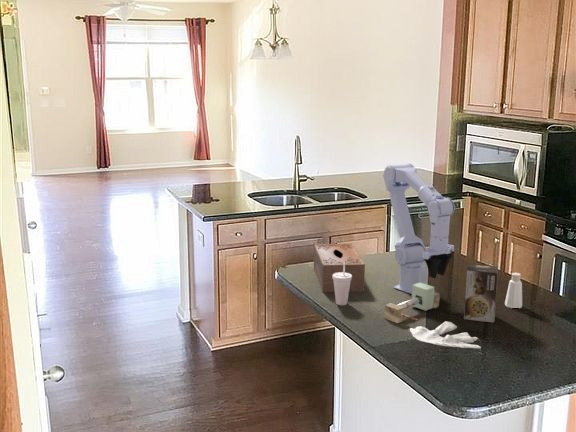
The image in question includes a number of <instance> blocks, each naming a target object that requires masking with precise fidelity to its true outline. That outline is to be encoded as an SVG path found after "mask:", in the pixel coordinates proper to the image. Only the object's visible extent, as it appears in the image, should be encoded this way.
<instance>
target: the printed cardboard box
mask: <svg viewBox="0 0 576 432" xmlns="http://www.w3.org/2000/svg"><path fill="white" fill-rule="evenodd" d="M498 275H499V267H498V266H494V265H493V266H492V265H482V264H481V265H480V264H470V263H469V264H467V268H466V281H465V282H466V284H465V299H464V313H463V314H464V315H463V320H469V321H477V322H487V323H495V321H496V320H495V317H496V305H497V304H496V303H497V291H498V277H499V276H498Z"/></svg>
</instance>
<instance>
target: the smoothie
mask: <svg viewBox="0 0 576 432" xmlns="http://www.w3.org/2000/svg"><path fill="white" fill-rule="evenodd" d="M332 278H333V280H334V290H335V292H334V296H335V297H334V298H335V304H336V305H338V306H346V305H348V302H349V301H348V300H349V295H350V291H349V288H350V282H351V279H352V275H351V274H349V273H345V262H343V272H338V273H334V274H333V277H332Z"/></svg>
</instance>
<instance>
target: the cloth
mask: <svg viewBox="0 0 576 432" xmlns="http://www.w3.org/2000/svg"><path fill="white" fill-rule="evenodd" d="M456 329H458V326H457V325H455V324H454V323H453V322H451V321H446V320H445V321H444V322H443V323H441V324H440V325H438V326H437V327H436V328H435V329H432V330H430V329H428V328H427V327H425V326H421V325H420V326H416V327H415V328H411V327H410V328H409V331H410V333H411V335H412V336H413V338H414V339H416V340H418V341H419V342H424V343H427V344H433V345H437V346H442V347H449V348H451V347H452V348H462V349H481V348H482V347H481V346H480V345H478V344H474V342H481V339H480V338H478V337H476V336H471V335H470V334H469V333H468V332H467V331H466V332H461V333H457V334H451V335H450V334H446V333H449V332H451V331H452V332H453V331H454V330H456ZM444 334H446V335H445V336H444V337H443V336H440V335H444ZM471 343H473V344H471Z"/></svg>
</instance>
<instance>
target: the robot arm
mask: <svg viewBox="0 0 576 432" xmlns="http://www.w3.org/2000/svg"><path fill="white" fill-rule="evenodd" d="M384 168H385V169H384V172H383V174H382V177H383V181H384V184H385V188H386V191H387V192H388V195H389V199H390V204H391V207H392V211H393V212H392V213H393V215H394V220H395V224H396V228H397V231H398V232H397V233H398V236H399V240H397V242H396V243H395V244H394V250H395V252H394V253H395V255H394V256H395V260H396V261H397V264H398V265H399V283H398V284H396V285H394V286H393V288H394V289H396V290H400V291H402V292H405V293H408V294H411V295H412V285H414V284H417V283H424V284H427V276H429V278H432V279H436V278H437V275H440V276H444V275H446V270H447V267H448V264H449V262H450V261H451V259H452V258H453V253H451V252H454V251H455V245H453V244H449V238H450V237H449V235H450V220H451V216H452V215H454V214H455V213H454V212H455V207H456V206H455V203H454V201H453V199H452V198H451V197H446V196H443V195H442V194H441V193H440V192H439V191H438V190H437V189H436V188H435V186H433V184H432V185H431V184H426V183H425V182H424V181H423V180H422V179H421V177H420V176H419V175H418V172H417V168H416V167H415V166H414V164H412V163H408V164H395V165H394V164H393V165H391V164H388V165H386V166H385V167H384ZM410 187H411V188H412V189H413V190H415V191H416V192H417V198H418V199H419V200H420V201H421V202H422V203H423V204H424V205H425V206H426V207H427V211H428V214H429V221H430V234H429V247H428V248H426V246H425V245H424V241H423V239H421V238H419V236H417V235H416V234H415V229H414V225H413V223H412V218H411V214H410V210H409V205H408V202H407V198H406V194H405V192H406V191H407V190H409V189H410ZM424 262H425V263H424ZM427 271H428V272H427ZM427 274H428V275H427Z"/></svg>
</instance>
